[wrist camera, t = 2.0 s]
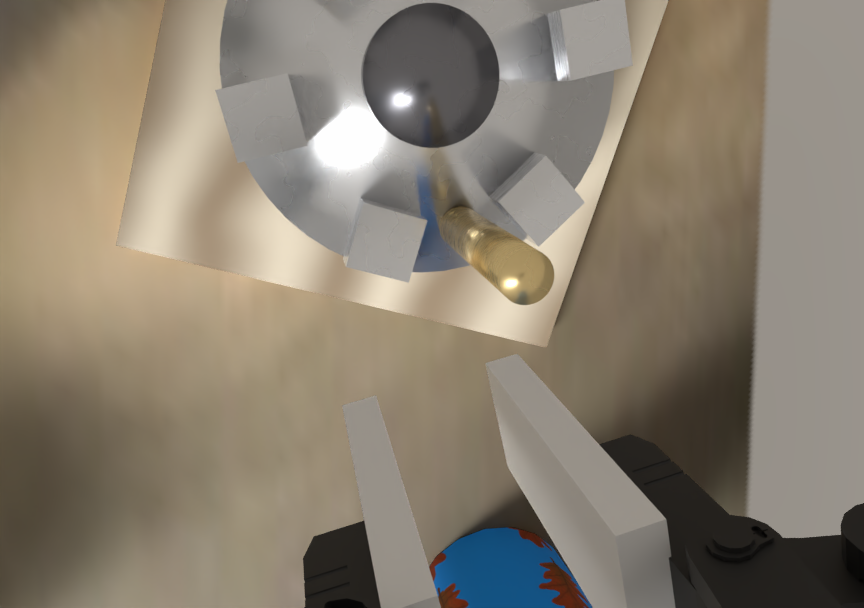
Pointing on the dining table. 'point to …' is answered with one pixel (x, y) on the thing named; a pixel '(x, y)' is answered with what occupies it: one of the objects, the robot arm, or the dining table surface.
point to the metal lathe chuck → (423, 124)
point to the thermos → (504, 573)
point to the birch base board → (279, 238)
